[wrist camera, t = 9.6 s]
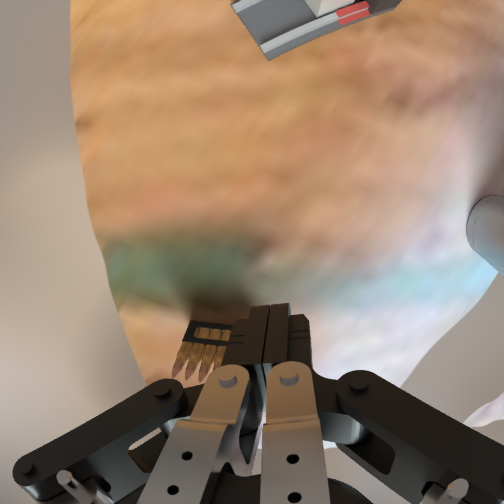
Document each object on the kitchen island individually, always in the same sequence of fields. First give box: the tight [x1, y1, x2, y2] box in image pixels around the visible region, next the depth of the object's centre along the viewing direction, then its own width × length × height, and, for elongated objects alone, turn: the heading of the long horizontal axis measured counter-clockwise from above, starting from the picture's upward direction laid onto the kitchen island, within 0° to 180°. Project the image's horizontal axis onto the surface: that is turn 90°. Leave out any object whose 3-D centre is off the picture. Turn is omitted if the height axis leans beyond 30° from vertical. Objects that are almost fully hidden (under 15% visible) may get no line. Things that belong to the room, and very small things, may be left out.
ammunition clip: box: [172, 321, 234, 383], centre depth 43 cm, size 11×2×12 cm, turn 89°
